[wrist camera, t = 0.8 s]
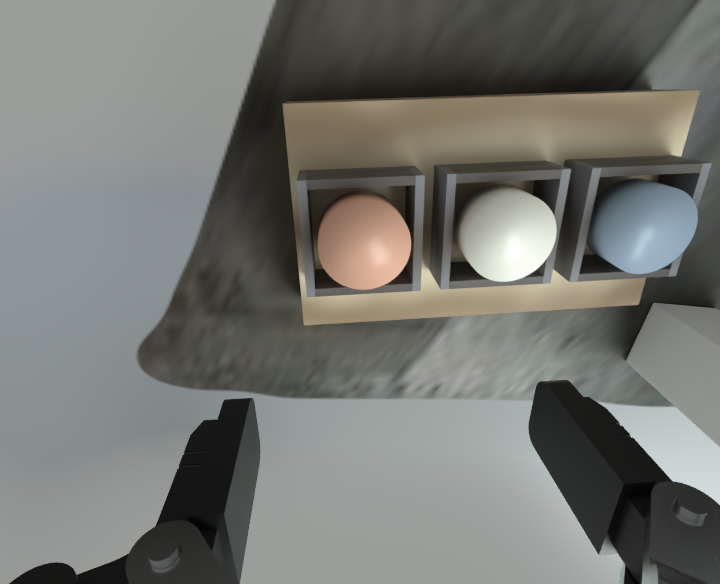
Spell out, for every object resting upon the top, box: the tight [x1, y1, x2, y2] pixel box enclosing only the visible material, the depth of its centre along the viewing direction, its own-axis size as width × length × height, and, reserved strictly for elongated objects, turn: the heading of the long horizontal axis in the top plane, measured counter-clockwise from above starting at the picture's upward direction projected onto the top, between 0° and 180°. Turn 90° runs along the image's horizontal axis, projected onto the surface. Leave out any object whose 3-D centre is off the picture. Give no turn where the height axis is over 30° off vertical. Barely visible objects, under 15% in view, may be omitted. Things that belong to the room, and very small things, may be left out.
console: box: [283, 90, 712, 325], centre depth 28 cm, size 14×24×7 cm, turn 92°
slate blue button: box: [586, 178, 698, 274], centre depth 25 cm, size 5×5×2 cm
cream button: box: [454, 184, 557, 282], centre depth 24 cm, size 5×5×2 cm
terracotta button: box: [318, 190, 411, 290], centre depth 24 cm, size 5×5×2 cm
